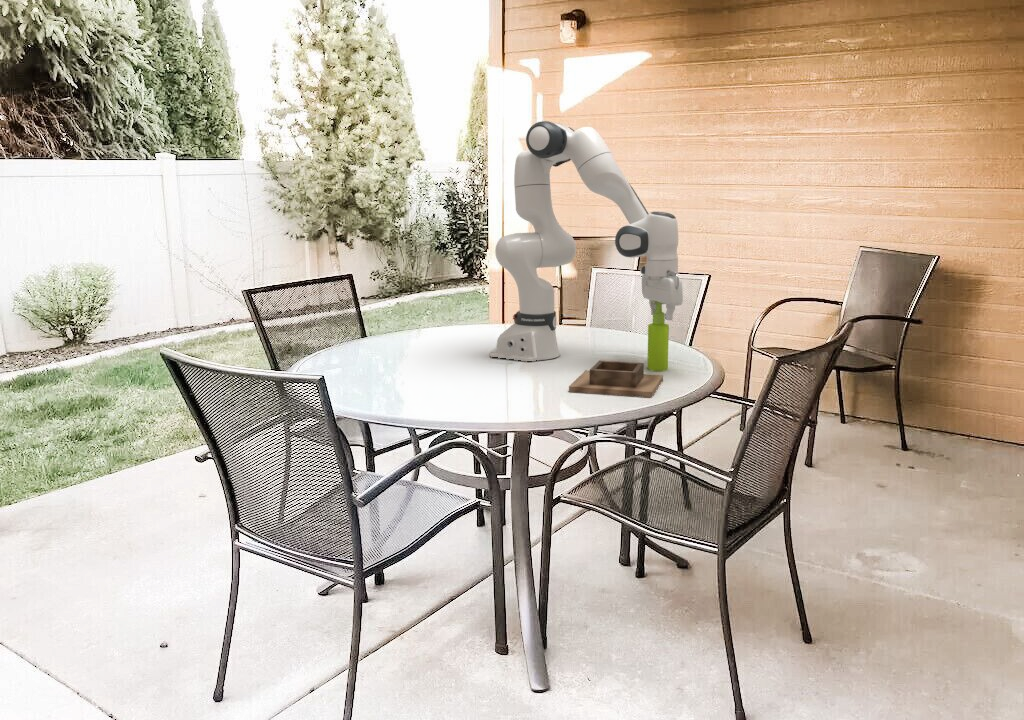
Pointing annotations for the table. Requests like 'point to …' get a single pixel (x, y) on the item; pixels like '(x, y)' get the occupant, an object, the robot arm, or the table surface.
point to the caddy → (617, 380)
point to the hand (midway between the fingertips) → (661, 317)
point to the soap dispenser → (658, 341)
